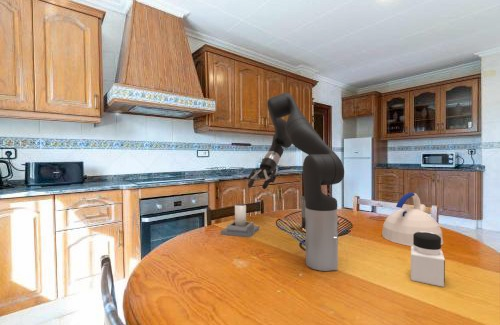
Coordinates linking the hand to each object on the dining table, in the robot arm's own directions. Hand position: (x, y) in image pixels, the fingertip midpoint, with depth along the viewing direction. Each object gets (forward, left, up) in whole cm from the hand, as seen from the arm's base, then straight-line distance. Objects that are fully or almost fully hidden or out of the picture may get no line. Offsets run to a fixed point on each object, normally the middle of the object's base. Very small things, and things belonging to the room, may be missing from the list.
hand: (256, 187), depth 121 cm
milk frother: (-29, -2, -18) cm, 34 cm away
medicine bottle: (-59, +35, -18) cm, 71 cm away
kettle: (-63, -1, -19) cm, 66 cm away
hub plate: (+4, +11, -18) cm, 21 cm away
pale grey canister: (+4, +10, -17) cm, 20 cm away
